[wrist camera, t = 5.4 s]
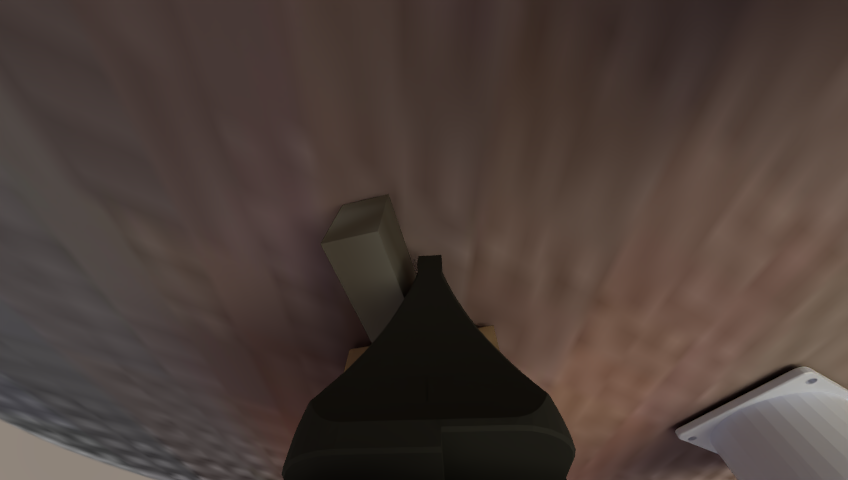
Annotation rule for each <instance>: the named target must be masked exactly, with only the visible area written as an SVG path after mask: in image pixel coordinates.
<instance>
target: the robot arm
mask: <svg viewBox="0 0 848 480" xmlns="http://www.w3.org/2000/svg"><path fill="white" fill-rule="evenodd" d="M417 269H418V273H417V275H416V278H415V280H414V282H413V284H412V286H411V288H410V290H409V292H408V293H407V295H406V297H405V298H404V300H403V302H402V303H401V305H400V307H399V308H398V310H397V311H396V313H395V314H394V316H393V317H392V319H391V320H390V322H389V323H388V324H387V326H386V327H385V328H384V330H383V331H382V332H381V333H380V334H379V336H378V337H377V338H376V339H375V340H374V342H373V343H372V344H371V345H370V346H369V347H368V348H367V350H366V351H365V352H364V353H363V354H362V355H361V356H360V357H359V358H358V359H357V360H356V361H355V362H354V363H353V364H352V365H351V366H350V367H349V368H348V369H347V370H346V371H345V372H344V373H343V374H342V375H340V376H339V377H338V378H337V379H336V380H335V381H334V382H332V383H331V384H330V385H329V386H328V387H327V388H325V389H324V390H323V391H322V392H321V393H320V394H318V395H317V396H316V397H315V398H314V399H312V400H311V401H310V402H309V404H308V406H307V408H306V410H305V412H304V414H303V417H302V419H301V421H300V423H299V425H298V427H297V429H296V432H295V434H294V437H293V440H292V443H291V446H290V449H289V452H288V454H287V457H286V460H285V463H284V466H283V470H282V476H283V478H284V480H567V479H566V477H567V474H568V472H569V469H570V467H571V465H572V462H573V460H574V457H575V450H576V449H575V446H574V444H573V440H572V438H571V435H570V433H569V430H568V428H567V426H566V424H565V422H564V420H563V418H562V416H561V415H560V413H559V411H558V409H557V407H556V406H555V404H554V402H553V401H552V399H551V397H550V396H549V394H548V393H546V392H545V391H544V390H543V389H541V388H540V387H539V386H538V385H536V384H535V383H534V382H533V381H531V380H530V379H529V378H528V377H527V376H525V375H524V374H523V373H522V372H521V371H520V370H519V369H517V368H516V367H515V366H514V365H513V364H512V363H511V362H510V361H509V360H508V359H506V358H505V357H504V356H503V354H502V353H501V352H500V351H499V350H498V349H497V348H496V347H495V346H494V345H493V344H492V343H491V342H490V341H489V340H488V339H487V338H486V337H485V336H484V335H483V333H482V332H481V331H480V330H479V329H478V328H477V326H476V325H475V324H474V323H473V321H472V320H471V319H470V318H469V316H468V315H467V314H466V312H465V311H464V309H463V308H462V306H461V305H460V303H459V302H458V300H457V299H456V297H455V296H454V294H453V292H452V290H451V289H450V287H449V285H448V283H447V281H446V279H445V277H444V275H443V273H442V258H441V255H434V256H419V258H418V265H417ZM675 433H676V435H677V436H678V438H679V439H681V440H684V441H686V442H689V443H691V444H694V445H696V446H699V447H701V448H704V449H707V450H709V451H712V452H714V453H717V454H719V455H720V456H721V458H722V459H723V461H724V462H725V463H726V465H727V466H728V467H729V469H730V470H731V472H732V473H733V474H734V476H735V477H736V478H737V480H848V390H847V389H846V388H844V387H842V386H840V385H839V384H837V383H835V382H833V381H832V380H830V379H828V378H826V377H825V376H823V375H821V374H820V373H818V372H816V371H814V370H813V369H811V368H809V367H798V368H795V369H793V370H791V371H789V372H787V373H785V374H783V375H781V376H779V377H777V378H775V379H773V380H771V381H769V382H767V383H765V384H763V385H762V386H760V387H758V388H756V389H754V390H752V391H750V392H748V393H746V394H744V395H742V396H740V397H738V398H736V399H734V400H732V401H730V402H728V403H726V404H724V405H722V406H720V407H718V408H717V409H715V410H713V411H711V412H709V413H707V414H705V415H703V416H701V417H699V418H697V419H695V420H693V421H691V422H689V423H687V424H685V425H683V426H681V427H679V428H678V429H676V431H675Z"/></svg>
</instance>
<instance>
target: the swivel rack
mask: <svg viewBox="0 0 848 480" xmlns="http://www.w3.org/2000/svg"><path fill="white" fill-rule="evenodd" d="M321 246H322V248H323V250H324V252H325V254H326V256H327V258H328V259H329V261H330V263H331V265H332V267H333V269H334V271H335V273H336V275H337V277H338V279H339V281H340V283H341V285H342V287H343V288H344V290H345V292H346V294H347V296H348V298H349V300H350V302H351V304H352V306H353V308H354V310H355V312H356V314H357V316H358V317H359V319H360V321H361V323H362V325H363V327H364V329H365V331H366V333H367V335H368V337H369V339H370V341H371V343H373V342H374V340H375V339H376V338H377V337H378V336H379V334H380V333H381V332H382V331H383V330H384V328H385V327H386V326H387V324H388V323H389V322H390V320H391V319H392V317H393V316H394V314H395V313H396V311H397V310H398V308H399V307H400V305H401V303H402V302H403V300H404V298H405V297H406V295H407V293H408V292H409V290H410V288H411V286H412V284H413V282H414V280H415V278H416V273H415V270H414V268H413V265H412V262H411V259H410V256H409V253H408V250H407V247H406V244H405V241H404V238H403V236H402V233H401V230H400V227H399V224H398V221H397V218H396V215H395V212H394V209H393V206H392V203H391V201H390V198H389V195H383V196H379V197H375V198H371V199H367V200H363V201H359V202H354V203H350V204H346V205H342V207H341V209H340V211H339V212H338V214H337V216H336V218H335V219H334V221H333V223H332V225H331V226H330V228H329V230H328V232H327V234H326V235H325V237H324V239H323V241H322V242H321ZM478 329H479V330H480V331H481V332H482V333H483V335H484V336H485V337H486V338H487V339H488V340H489V341H490V342H491V343H492V344H493V345H494V346H495V347H496V348H497V349H498V350H499V347H498V343H497V339H496V335H495V331H494V327H493V326H487V327H481V328H478ZM368 347H369V346H367V347H362V348H356V349H350V350H349V354H348V358H347V362H346V366H345V369H344V372H345V371H346V370H347V369H348V368H349V367H350V366H351V365H352V364H353V363H354V362H355V361H356V360H357V359H358V358H359V357H360V356H361V355H362V354H363V353H364V352H365V351H366V350H367V348H368Z"/></svg>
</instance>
